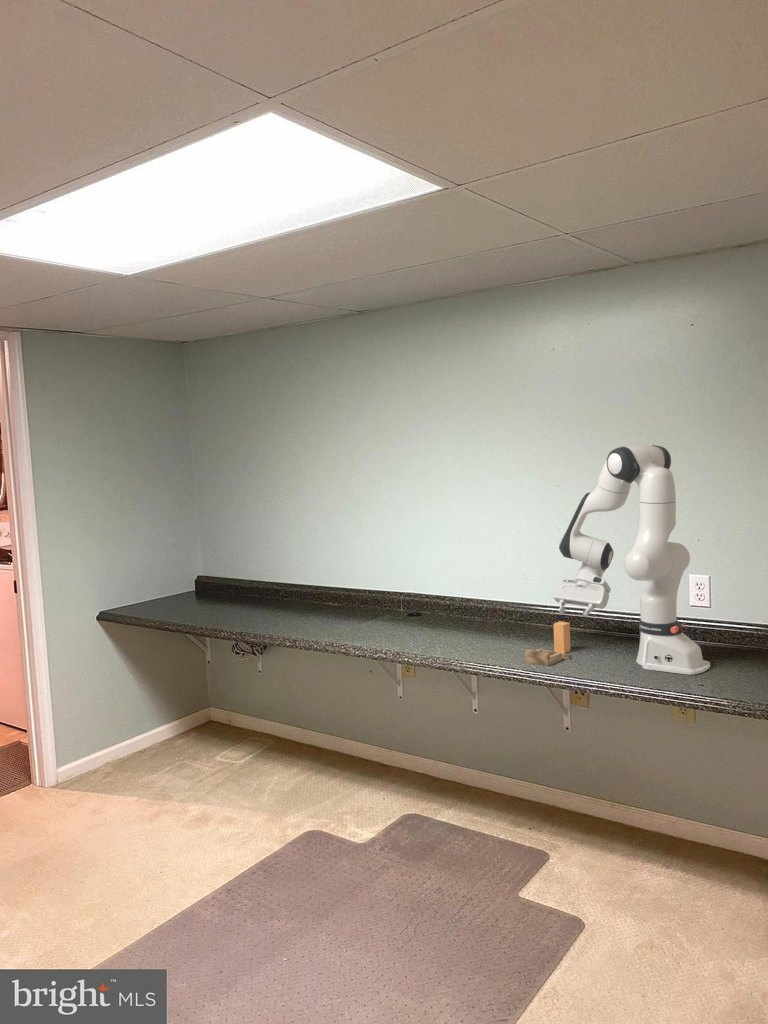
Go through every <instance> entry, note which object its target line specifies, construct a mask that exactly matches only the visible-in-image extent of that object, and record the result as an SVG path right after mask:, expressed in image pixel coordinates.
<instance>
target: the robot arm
mask: <svg viewBox="0 0 768 1024" xmlns="http://www.w3.org/2000/svg"><path fill="white" fill-rule="evenodd" d="M671 465H672V458H671V454H670V452H669V450H668V449H667V448H665V447H663V446H661V445H655V444H652V445H643V444H642V445H641V444H635V445H628V446H620V447H617V448H614V449H612V450H611V451H610V452H609V453H608V454H607V458H606V460H605V462H604V463H603V465H602V468H601V470H600V472H599V476H598V478H597V481H596V486H595V487H594V488H593V490H592V491H591V492H590V491H589V492H586V493H585V494H584V496H583V497H582V498H581V500H580V502H579V504H578V506H577V508H576V510H575V512H574V514H573V516H572V518H571V520H570V523H569V525H568V527H567V529H566V531H565V533H564V534H563V535H562V537H561V539H560V541H559V544H558V546H559V547H558V549H559V551H560V553H561V555H562V556H563V557H564V558H566V559H571V560H575V561H578V562H581V566H580V567H579V569H577V573H576V574H575V576H574V579H573V580H572V579H564V580H562V581H560V582H559V584H558V586H557V587H556V589H554V592H553V594H552V597H553V599H554V601H555V602H556V603H558V604H559V608H558V612H559V614H565V612H566V608H565V606H566V605H573V606H581V607H587V608H586V609H583V611H582V613H581V615H582V617H585V618H588V616H589V614H591V613H592V612H593V611H594V610H595V609H601V610H603V609H605V607H607V605H608V603H609V599H610V593H611V590H612V589H611V586H610V585H609V583H608V582H607V581H606V580H605V579H604V578H603V576H604V573H605V572H606V571H607V569H608V568H609V567H610V565H611V563H612V559H613V558H614V549H613V547H612V545H611V544H610V542H607V541H606V540H603V539H599V538H596V537H593V536H590V535H586V534H584V533H582V532H581V528H582V526H583V524H584V522H585V520H586V518H587V516H588V515H589V514H593V513H598V512H599V513H601V512H605V513H606V512H612V511H615V510H618V509H620V508H622V507H623V506H624V505H625V503H626V501H627V499H628V497H629V493H630V492H631V491H630V490H631V487H632V483H633V482H635V483H636V484H637V486H638V488H639V497H638V501H639V503H638V505H639V507H638V511H639V512H638V528H637V533H636V536H635V539H634V542H633V544H632V548H631V549H630V550H629V552H627V554H626V556H625V557H624V562H623V566H624V567H623V568H624V570H625V573H626V574H627V576H628V577H630V578H631V579H632V580H635V581H640V582H641V581H642V582H647V583H646V585H645V588H644V590H643V591H642V592H641V594H640V598H639V601H640V602H639V603H640V605H639V607H640V609H639V610H640V618H639V621H638V622H639V623H638V624H639V625H638V629H639V630H638V631H639V633H638V634H639V635H640V637H639V647H638V653H637V656H636V660H635V662H636V663H637V664H638V665H640V666H641V667H642V669H644V670H649V671H658V672H665V673H674V674H681V675H688V676H689V675H690V676H691V675H693V676H694V675H698V674H702V673H705V672H706V671H707V670H709V669H710V667H711V663H710V661H708V660H704V658H703V653H702V649H701V647H700V645H698V644H697V643H696V642H695V641H694V640H692V639H691V638H690V637H689V636H688V635H686V634H685V633H684V632H683V628H684V627H685V623H684V622H683V623H680V622H679V621H678V619H677V599H678V594H679V593H678V591H679V587H680V584H681V580H682V577H683V574H684V572H685V571H686V569H687V568H688V566H689V565H690V562H691V555H690V552H689V550H688V548H687V547H686V546H685V545H684V544H682V543H680V542H673V541H668V540H669V538H670V535H671V533H672V532H673V531H674V529H675V527H676V525H677V523H676V521H677V519H676V517H677V515H676V514H677V513H676V511H677V509H676V507H677V502H676V501H677V499H676V497H677V495H676V494H677V493H676V486H675V479H674V475H673V473H672V471H671V470H670V468H671Z"/></svg>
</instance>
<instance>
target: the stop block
mask: <svg viewBox="0 0 768 1024" xmlns="http://www.w3.org/2000/svg"><path fill="white" fill-rule="evenodd" d="M553 649H554V650H553V652H560V653H563V654H568V653H569V652H571V622H566V621H560V620H559V621H557V622H554V623H553Z"/></svg>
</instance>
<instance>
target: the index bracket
mask: <svg viewBox="0 0 768 1024" xmlns="http://www.w3.org/2000/svg"><path fill="white" fill-rule="evenodd" d="M542 650H543V649H542V648H538V649H535V650H533V649H528V648H527V649H525V650H524V656H525V657H524V659H525V660H524V661H525V662H526V663H531V664H535V665H540V666H545V667H549V666H551V665H554V664H556V663H559V662H560V661H562V660H563V658H562V653H560V652H558V653H555V654H553V655H551V656H549V653H545V652H542Z"/></svg>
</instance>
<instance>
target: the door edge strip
mask: <svg viewBox="0 0 768 1024" xmlns="http://www.w3.org/2000/svg"><path fill="white" fill-rule="evenodd" d="M542 652H545V653H549V656H551V655H553V654H555V653H558V652H554V651H552V650H545V649H542ZM563 659H565V660H568V661H569V660H571V659H572V654H569V653H562V660H563Z"/></svg>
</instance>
